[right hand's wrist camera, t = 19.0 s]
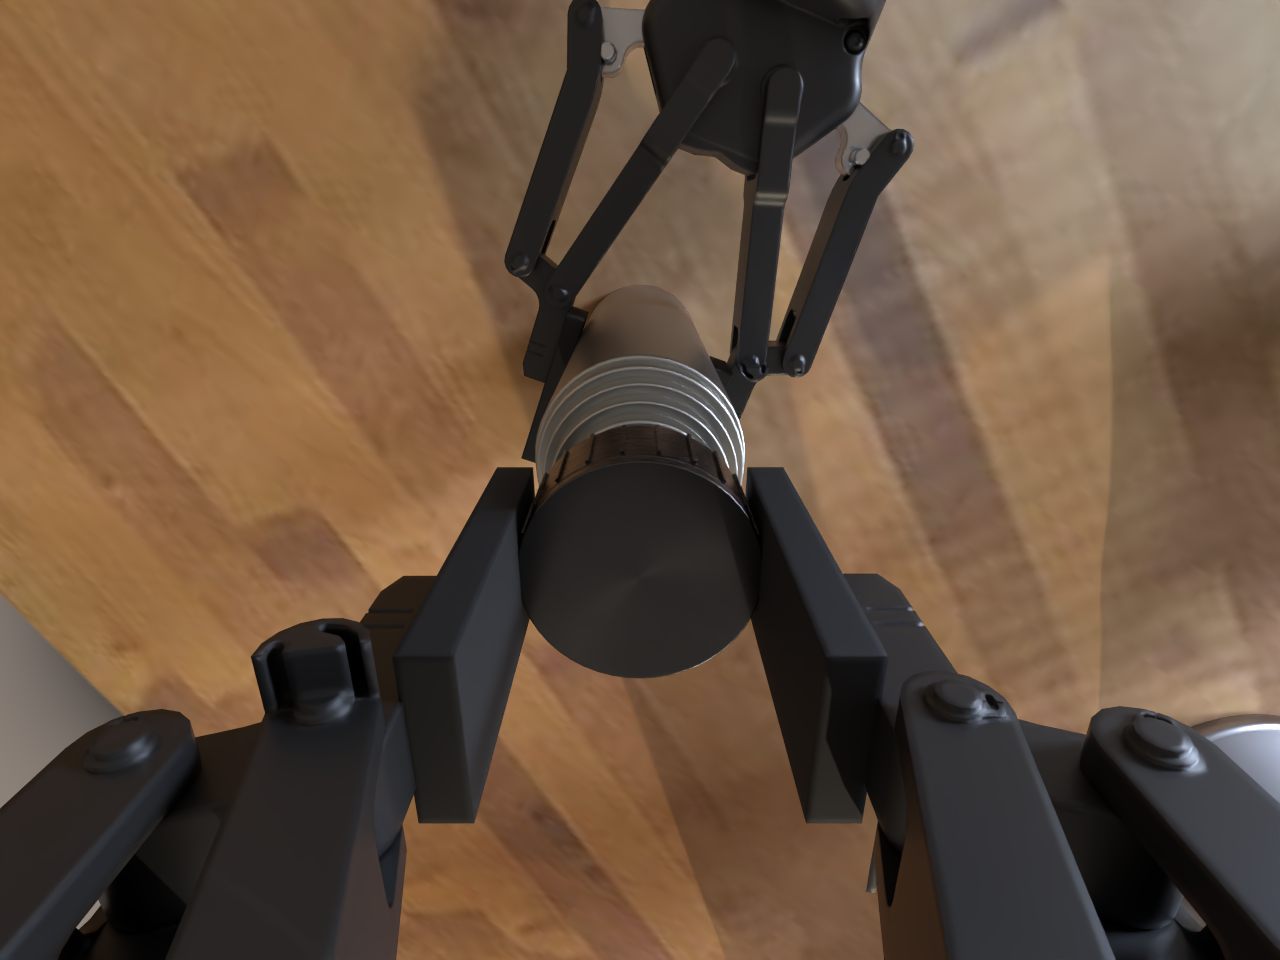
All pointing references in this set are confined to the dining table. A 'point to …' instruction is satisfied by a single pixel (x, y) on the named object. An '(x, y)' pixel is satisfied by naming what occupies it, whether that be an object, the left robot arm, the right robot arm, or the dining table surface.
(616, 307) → the bottle
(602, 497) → the cap
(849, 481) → the dining table surface
